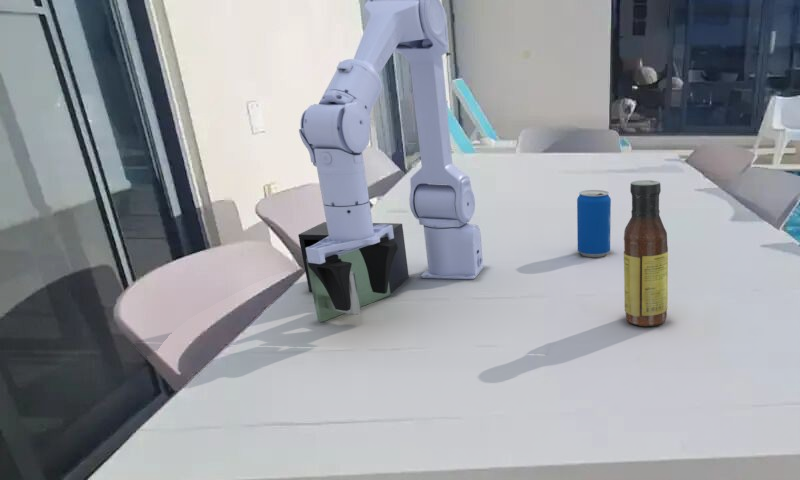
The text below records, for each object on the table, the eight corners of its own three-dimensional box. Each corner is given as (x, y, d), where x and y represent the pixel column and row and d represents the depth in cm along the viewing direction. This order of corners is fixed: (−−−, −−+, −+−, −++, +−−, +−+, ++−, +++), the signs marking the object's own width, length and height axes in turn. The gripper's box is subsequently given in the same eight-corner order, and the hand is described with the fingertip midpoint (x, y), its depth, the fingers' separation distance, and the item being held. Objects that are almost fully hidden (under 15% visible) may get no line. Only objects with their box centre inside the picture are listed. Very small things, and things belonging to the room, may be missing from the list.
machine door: (417, 301, 100) (410, 243, 96) (349, 329, 89) (338, 265, 86) (387, 294, 103) (379, 237, 99) (317, 321, 92) (305, 258, 88)
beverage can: (606, 259, 123) (607, 196, 118) (574, 257, 125) (573, 194, 119) (612, 250, 129) (613, 190, 124) (581, 248, 130) (581, 188, 125)
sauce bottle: (671, 316, 95) (678, 179, 87) (660, 330, 90) (667, 187, 82) (629, 310, 97) (632, 177, 89) (616, 325, 92) (618, 184, 84)
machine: (390, 294, 104) (382, 236, 100) (309, 292, 104) (297, 234, 100) (409, 278, 112) (402, 223, 108) (333, 276, 112) (324, 221, 108)
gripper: (330, 215, 76) (348, 321, 82) (406, 195, 88) (417, 288, 94) (285, 211, 78) (306, 314, 84) (365, 191, 91) (378, 283, 96)
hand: (362, 300), depth 89 cm, fingers open, 7 cm apart
